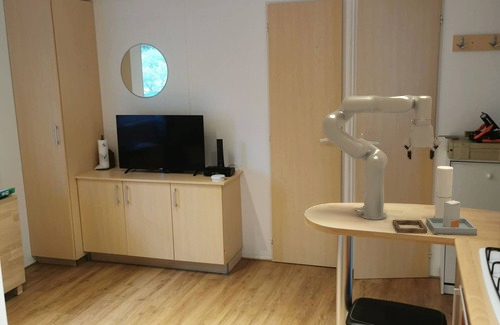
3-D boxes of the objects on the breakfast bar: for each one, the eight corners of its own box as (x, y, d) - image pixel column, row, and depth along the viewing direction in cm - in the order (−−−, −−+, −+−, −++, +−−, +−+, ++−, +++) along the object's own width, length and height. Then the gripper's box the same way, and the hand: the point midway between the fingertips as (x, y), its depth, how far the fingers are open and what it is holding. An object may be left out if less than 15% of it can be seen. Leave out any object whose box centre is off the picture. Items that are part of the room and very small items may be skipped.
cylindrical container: (447, 215, 237) (450, 166, 232) (452, 219, 230) (455, 169, 225) (432, 215, 238) (435, 166, 233) (437, 219, 231) (439, 169, 226)
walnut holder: (397, 232, 214) (397, 228, 213) (392, 223, 226) (392, 219, 226) (427, 233, 212) (427, 229, 212) (420, 224, 225) (421, 220, 224)
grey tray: (433, 234, 211) (434, 227, 210) (425, 223, 225) (426, 217, 225) (476, 235, 208) (477, 228, 208) (465, 224, 223) (466, 218, 222)
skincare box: (449, 229, 214) (451, 204, 211) (442, 227, 217) (443, 201, 215) (459, 227, 216) (461, 202, 214) (451, 225, 220) (453, 200, 218)
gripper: (404, 123, 218) (402, 160, 221) (443, 123, 216) (441, 160, 219) (401, 121, 225) (400, 157, 229) (439, 121, 223) (437, 157, 226)
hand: (420, 159), depth 224 cm, fingers open, 9 cm apart
